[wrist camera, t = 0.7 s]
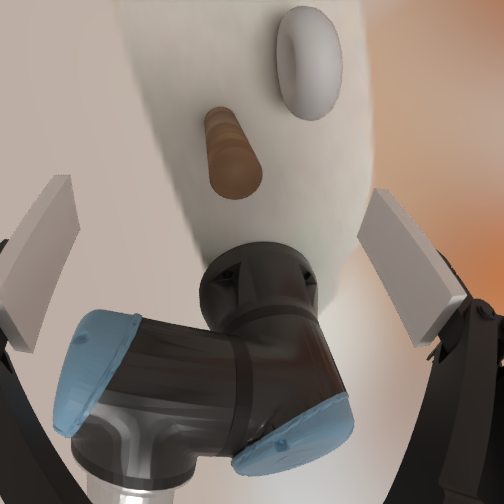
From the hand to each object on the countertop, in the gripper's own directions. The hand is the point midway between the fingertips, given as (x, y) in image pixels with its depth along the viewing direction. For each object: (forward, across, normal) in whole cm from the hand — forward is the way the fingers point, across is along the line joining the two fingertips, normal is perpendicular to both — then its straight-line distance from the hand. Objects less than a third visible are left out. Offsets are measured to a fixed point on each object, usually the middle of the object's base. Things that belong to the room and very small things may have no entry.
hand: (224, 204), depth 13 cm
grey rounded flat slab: (+20, -6, -5) cm, 21 cm away
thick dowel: (+19, -1, +2) cm, 19 cm away
